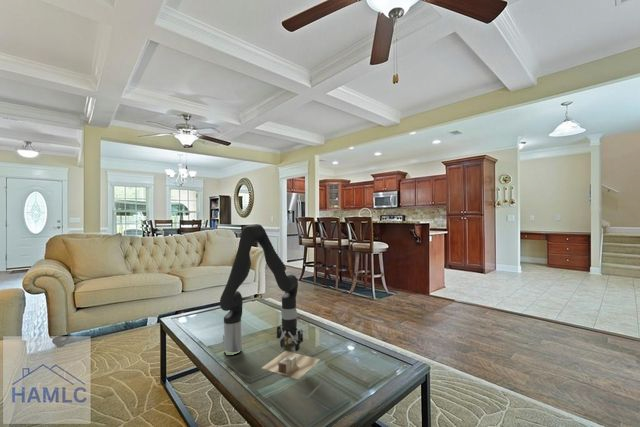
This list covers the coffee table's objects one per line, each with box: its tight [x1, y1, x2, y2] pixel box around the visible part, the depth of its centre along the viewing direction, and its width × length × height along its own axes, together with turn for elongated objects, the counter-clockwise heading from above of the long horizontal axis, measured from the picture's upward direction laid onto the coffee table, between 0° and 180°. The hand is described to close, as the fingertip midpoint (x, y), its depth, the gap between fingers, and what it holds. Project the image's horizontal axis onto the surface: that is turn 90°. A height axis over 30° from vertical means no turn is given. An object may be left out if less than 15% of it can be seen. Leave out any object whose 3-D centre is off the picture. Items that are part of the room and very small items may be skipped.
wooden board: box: [261, 350, 321, 380], centre depth 144 cm, size 22×20×1 cm
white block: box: [278, 355, 296, 373], centre depth 140 cm, size 4×4×9 cm
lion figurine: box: [282, 331, 295, 346], centre depth 169 cm, size 15×5×9 cm, turn 152°
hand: (289, 348), depth 142 cm, fingers open, 8 cm apart
